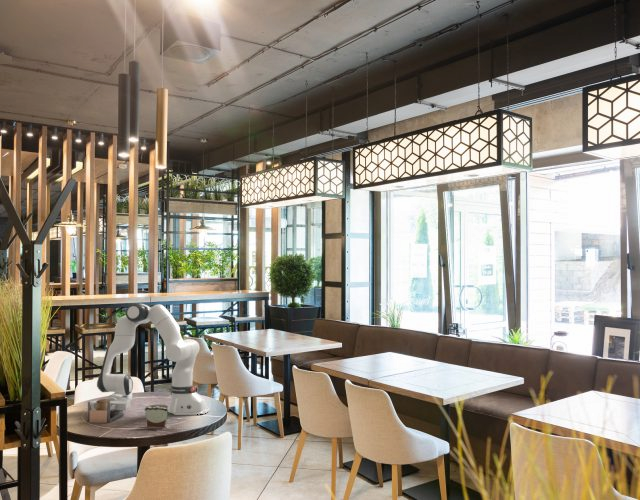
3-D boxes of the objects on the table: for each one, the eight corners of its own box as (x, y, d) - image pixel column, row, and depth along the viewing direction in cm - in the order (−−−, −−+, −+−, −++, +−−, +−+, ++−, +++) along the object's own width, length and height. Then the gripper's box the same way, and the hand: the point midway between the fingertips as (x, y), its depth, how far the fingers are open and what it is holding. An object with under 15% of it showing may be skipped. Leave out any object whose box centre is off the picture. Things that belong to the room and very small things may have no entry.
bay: (123, 414, 298) (124, 395, 298) (109, 423, 280) (109, 403, 281) (102, 413, 299) (103, 394, 299) (86, 422, 281) (87, 402, 282)
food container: (172, 424, 279) (172, 404, 280) (167, 428, 273) (168, 407, 274) (148, 423, 281) (149, 403, 281) (143, 426, 274) (144, 406, 275)
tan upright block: (109, 416, 289) (110, 399, 289) (105, 419, 284) (105, 401, 284) (100, 416, 289) (101, 399, 289) (95, 418, 284) (96, 401, 284)
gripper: (95, 395, 300) (83, 401, 287) (132, 396, 299) (121, 402, 285) (95, 407, 300) (82, 413, 286) (132, 408, 299) (121, 415, 285)
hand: (102, 408), depth 286 cm, fingers closed on tan upright block, 5 cm apart
